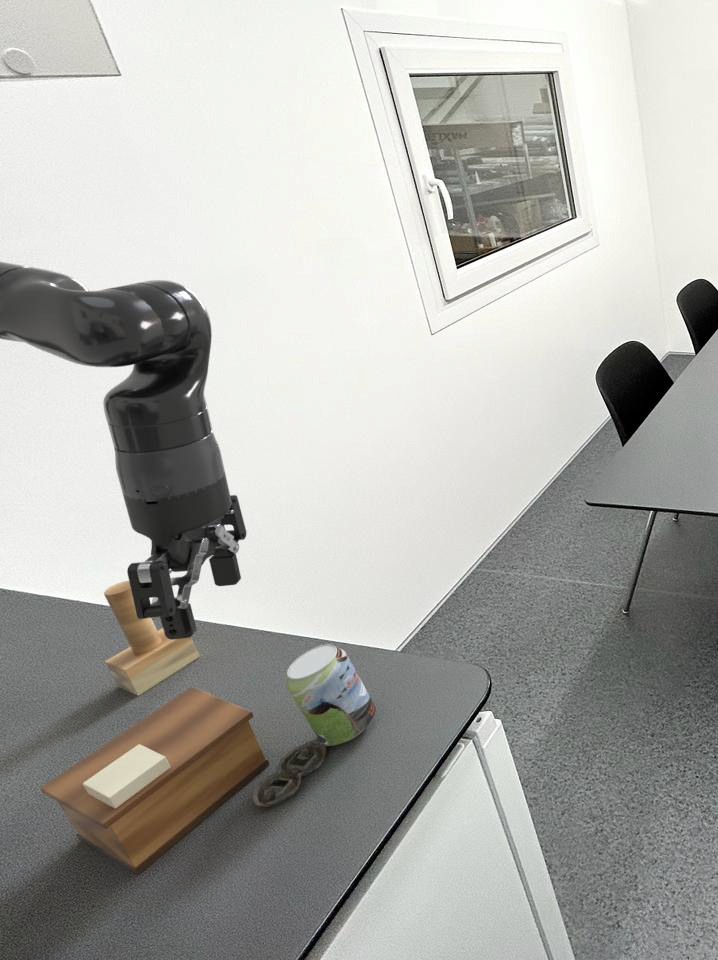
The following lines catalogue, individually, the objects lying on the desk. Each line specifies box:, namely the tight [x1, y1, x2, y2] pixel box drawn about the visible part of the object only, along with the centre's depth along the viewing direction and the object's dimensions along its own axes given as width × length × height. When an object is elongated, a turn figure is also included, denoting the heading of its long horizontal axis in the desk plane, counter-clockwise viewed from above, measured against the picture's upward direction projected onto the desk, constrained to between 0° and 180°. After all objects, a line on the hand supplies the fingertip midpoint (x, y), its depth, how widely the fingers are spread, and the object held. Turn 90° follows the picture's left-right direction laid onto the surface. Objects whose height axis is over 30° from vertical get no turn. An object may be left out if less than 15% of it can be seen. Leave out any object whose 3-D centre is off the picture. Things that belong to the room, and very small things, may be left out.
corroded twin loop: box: [252, 739, 327, 808], centre depth 72 cm, size 5×8×1 cm, turn 174°
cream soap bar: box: [83, 744, 171, 809], centre depth 64 cm, size 4×4×2 cm
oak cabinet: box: [39, 686, 270, 876], centre depth 69 cm, size 11×13×8 cm
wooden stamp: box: [103, 580, 200, 697], centre depth 84 cm, size 4×7×15 cm, turn 161°
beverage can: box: [285, 643, 376, 747], centre depth 76 cm, size 6×7×12 cm
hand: (206, 608), depth 68 cm, fingers open, 8 cm apart
